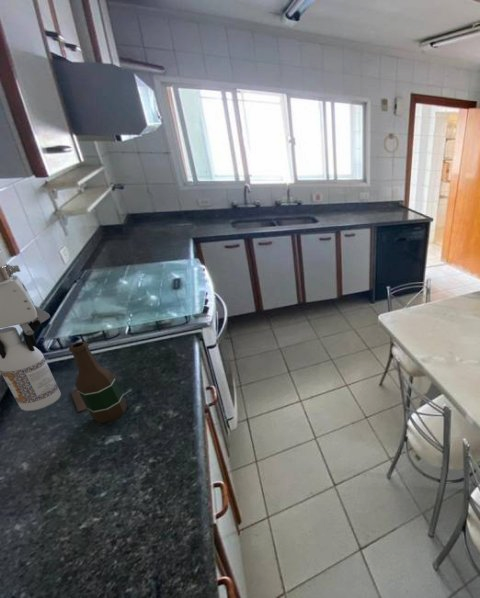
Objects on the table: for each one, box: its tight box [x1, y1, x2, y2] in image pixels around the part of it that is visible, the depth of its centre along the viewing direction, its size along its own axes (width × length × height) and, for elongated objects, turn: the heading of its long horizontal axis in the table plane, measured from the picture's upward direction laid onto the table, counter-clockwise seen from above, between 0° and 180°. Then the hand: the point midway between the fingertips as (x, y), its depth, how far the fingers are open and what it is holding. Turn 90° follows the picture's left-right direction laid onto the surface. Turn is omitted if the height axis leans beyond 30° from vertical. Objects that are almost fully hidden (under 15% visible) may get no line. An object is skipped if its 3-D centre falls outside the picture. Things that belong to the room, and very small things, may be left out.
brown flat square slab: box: [70, 375, 117, 413], centre depth 102 cm, size 12×12×1 cm
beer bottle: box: [68, 341, 128, 424], centre depth 90 cm, size 8×8×24 cm
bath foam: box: [0, 326, 62, 412], centre depth 75 cm, size 7×7×20 cm
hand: (18, 351), depth 73 cm, fingers closed on bath foam, 3 cm apart
